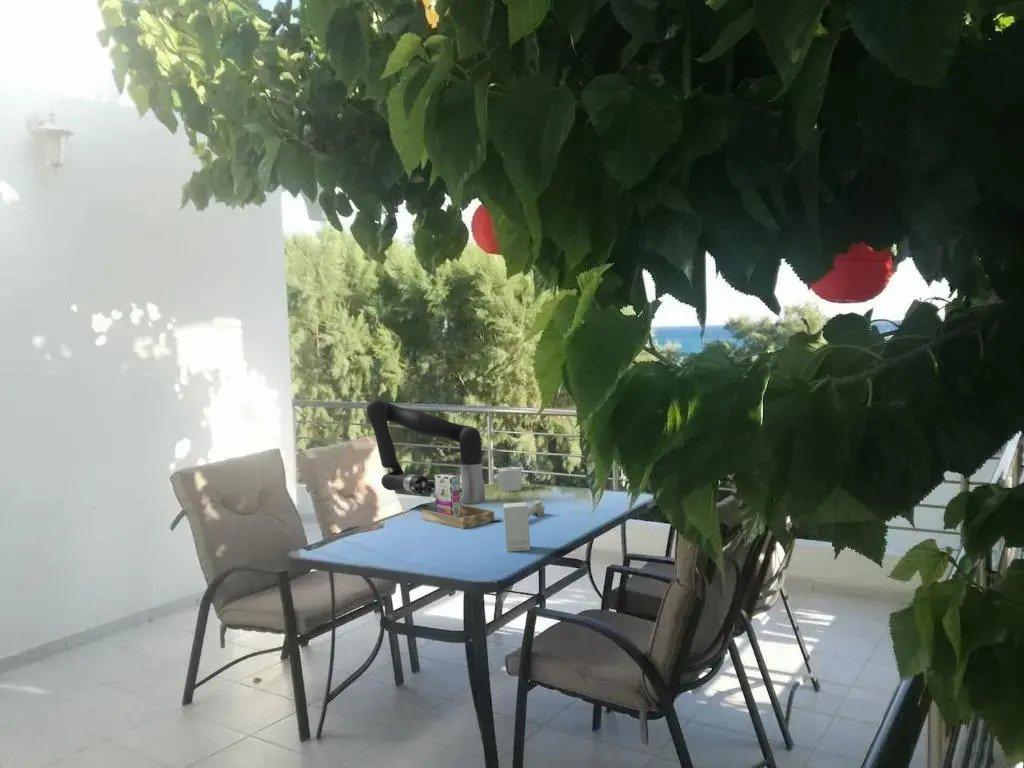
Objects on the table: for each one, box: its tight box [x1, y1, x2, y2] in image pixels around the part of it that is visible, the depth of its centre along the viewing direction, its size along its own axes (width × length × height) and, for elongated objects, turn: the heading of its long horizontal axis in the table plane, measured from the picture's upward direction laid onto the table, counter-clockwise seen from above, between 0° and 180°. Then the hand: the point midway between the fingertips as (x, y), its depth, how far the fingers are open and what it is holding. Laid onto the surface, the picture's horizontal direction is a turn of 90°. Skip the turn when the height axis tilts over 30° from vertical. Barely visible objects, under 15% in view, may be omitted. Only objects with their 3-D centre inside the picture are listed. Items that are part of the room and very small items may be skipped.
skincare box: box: [503, 501, 531, 553], centre depth 280 cm, size 8×7×16 cm
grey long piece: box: [527, 499, 546, 519], centre depth 323 cm, size 5×7×25 cm
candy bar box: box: [434, 473, 462, 517], centre depth 332 cm, size 11×5×16 cm, turn 41°
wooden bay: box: [421, 504, 496, 530], centre depth 328 cm, size 16×26×4 cm, turn 43°
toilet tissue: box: [497, 466, 523, 493], centre depth 388 cm, size 11×12×10 cm
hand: (439, 487), depth 336 cm, fingers open, 8 cm apart
